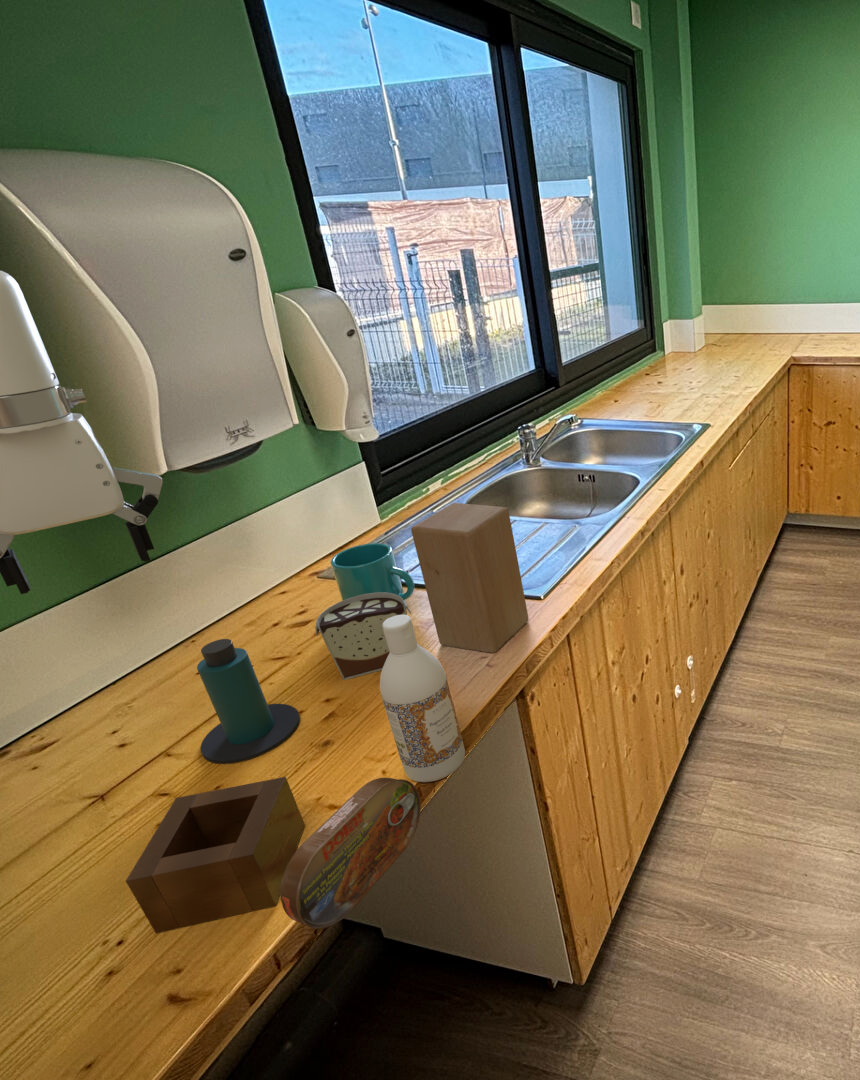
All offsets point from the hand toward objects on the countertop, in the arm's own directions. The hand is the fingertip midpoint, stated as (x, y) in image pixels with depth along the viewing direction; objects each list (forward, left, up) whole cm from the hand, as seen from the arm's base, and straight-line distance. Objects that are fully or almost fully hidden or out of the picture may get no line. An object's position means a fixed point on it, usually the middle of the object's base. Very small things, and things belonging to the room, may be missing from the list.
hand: (87, 572), depth 72 cm
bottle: (+6, +6, -27) cm, 28 cm away
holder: (+12, -18, -27) cm, 35 cm away
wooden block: (+34, +22, -28) cm, 49 cm away
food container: (+19, +19, -28) cm, 38 cm away
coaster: (+6, +6, -27) cm, 29 cm away
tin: (+25, -22, -28) cm, 43 cm away
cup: (+18, +33, -28) cm, 46 cm away
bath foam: (+30, -7, -28) cm, 41 cm away
